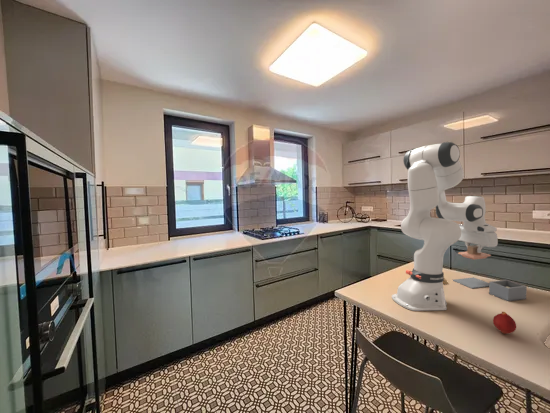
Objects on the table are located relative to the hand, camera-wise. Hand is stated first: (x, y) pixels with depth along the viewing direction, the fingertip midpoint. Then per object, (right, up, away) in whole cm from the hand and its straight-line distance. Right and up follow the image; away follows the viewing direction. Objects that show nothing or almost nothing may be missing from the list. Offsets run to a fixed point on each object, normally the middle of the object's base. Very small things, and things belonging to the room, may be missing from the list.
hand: (474, 251), depth 123 cm
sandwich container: (-18, -18, +7) cm, 26 cm away
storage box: (+3, -18, -15) cm, 24 cm away
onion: (-25, -21, -41) cm, 53 cm away
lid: (0, -3, 0) cm, 3 cm away
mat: (0, -17, +1) cm, 17 cm away
